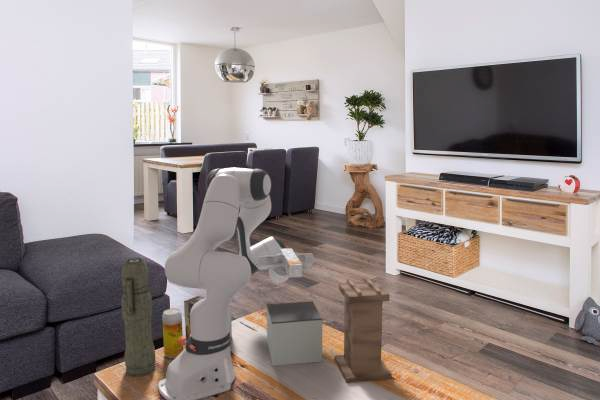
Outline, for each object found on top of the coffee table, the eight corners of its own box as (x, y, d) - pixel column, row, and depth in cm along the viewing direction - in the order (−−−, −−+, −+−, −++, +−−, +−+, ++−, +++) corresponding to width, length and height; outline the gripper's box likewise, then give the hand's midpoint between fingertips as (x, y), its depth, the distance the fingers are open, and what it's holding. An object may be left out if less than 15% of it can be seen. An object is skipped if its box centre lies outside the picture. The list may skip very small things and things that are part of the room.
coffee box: (216, 346, 162) (215, 301, 159) (201, 352, 157) (200, 306, 154) (200, 338, 167) (198, 295, 165) (185, 344, 163) (183, 300, 160)
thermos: (159, 359, 153) (153, 254, 147) (151, 378, 141) (144, 265, 136) (131, 360, 152) (124, 255, 147) (120, 379, 140) (113, 266, 135)
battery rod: (280, 259, 167) (280, 248, 166) (291, 259, 167) (291, 247, 167) (289, 278, 146) (289, 265, 146) (302, 277, 147) (302, 265, 147)
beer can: (178, 359, 152) (176, 315, 150) (161, 358, 153) (158, 314, 151) (186, 351, 158) (184, 308, 156) (169, 349, 159) (167, 307, 157)
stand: (334, 360, 152) (334, 278, 147) (375, 356, 154) (377, 276, 150) (346, 383, 138) (347, 294, 134) (391, 378, 141) (394, 291, 136)
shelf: (267, 344, 163) (266, 304, 160) (312, 340, 165) (312, 301, 163) (272, 366, 148) (272, 322, 146) (322, 361, 151) (322, 318, 149)
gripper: (254, 258, 174) (257, 248, 162) (308, 255, 178) (315, 245, 165) (255, 275, 172) (258, 266, 160) (310, 271, 176) (317, 263, 163)
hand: (287, 256), depth 162 cm, fingers closed on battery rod, 4 cm apart
